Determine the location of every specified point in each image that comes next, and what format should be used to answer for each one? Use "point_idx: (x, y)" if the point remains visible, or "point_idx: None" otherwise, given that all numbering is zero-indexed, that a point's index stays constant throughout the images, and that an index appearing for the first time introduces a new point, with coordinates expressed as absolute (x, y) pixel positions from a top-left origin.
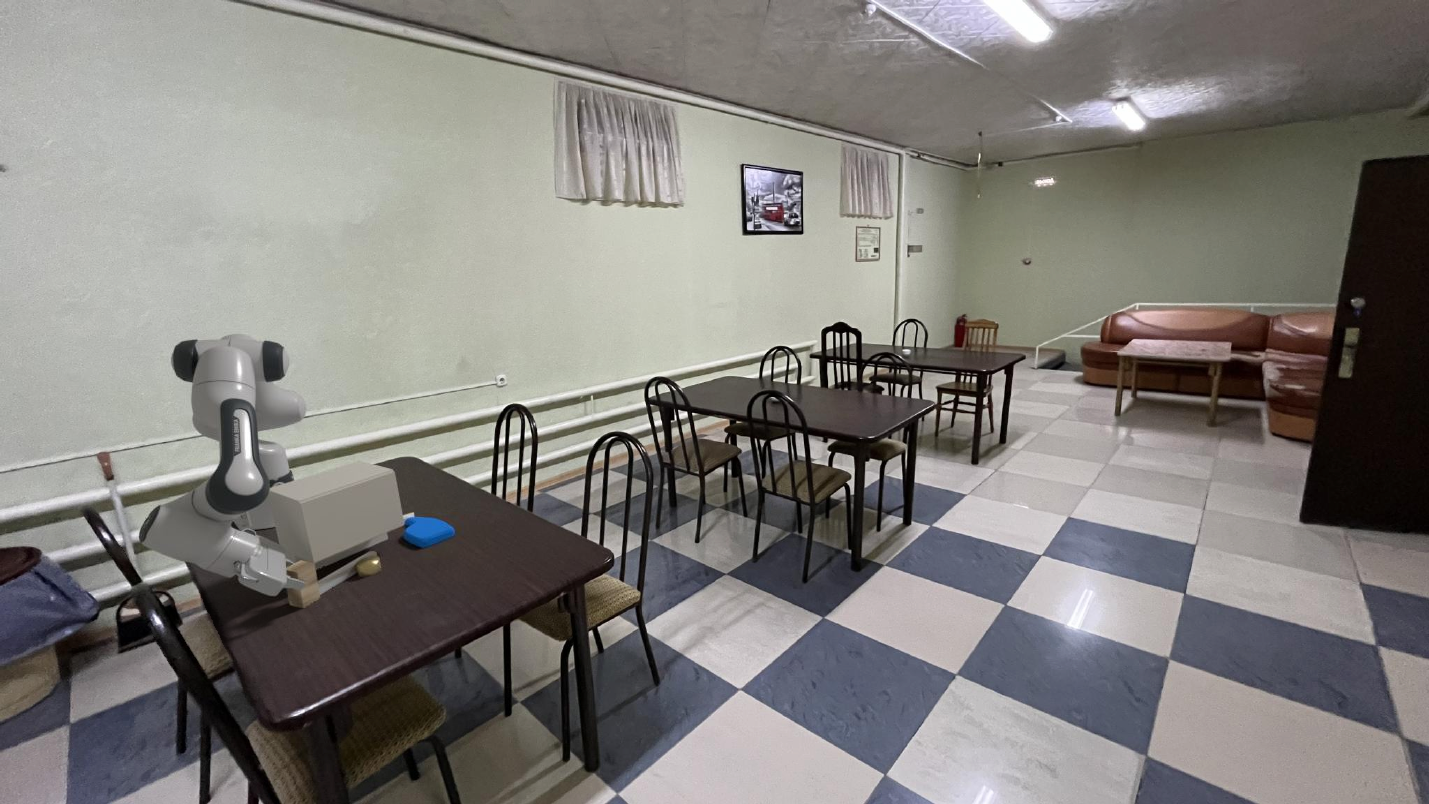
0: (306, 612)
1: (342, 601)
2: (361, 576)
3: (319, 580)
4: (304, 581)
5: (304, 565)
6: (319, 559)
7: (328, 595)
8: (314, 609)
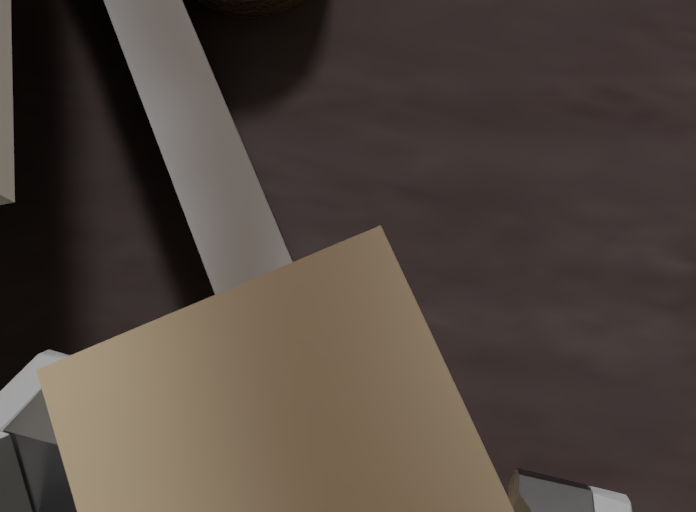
0: None
1: (602, 230)
2: (290, 7)
3: (205, 264)
4: (558, 484)
5: (331, 386)
6: (6, 130)
7: None
8: (545, 435)
